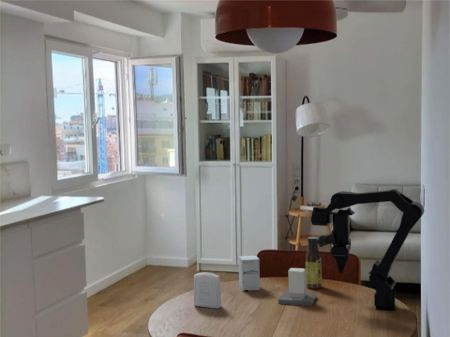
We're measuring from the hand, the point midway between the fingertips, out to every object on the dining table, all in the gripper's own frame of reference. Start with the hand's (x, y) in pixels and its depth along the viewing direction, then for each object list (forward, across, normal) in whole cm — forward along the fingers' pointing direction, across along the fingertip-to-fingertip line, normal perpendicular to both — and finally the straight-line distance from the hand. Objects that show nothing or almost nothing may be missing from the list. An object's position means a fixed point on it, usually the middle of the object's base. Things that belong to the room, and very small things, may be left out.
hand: (341, 269), depth 192 cm
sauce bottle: (+12, -17, -12) cm, 24 cm away
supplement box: (+12, -11, -37) cm, 41 cm away
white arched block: (+12, +13, -47) cm, 50 cm away
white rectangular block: (+10, +1, -16) cm, 19 cm away
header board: (+12, +1, -16) cm, 20 cm away
